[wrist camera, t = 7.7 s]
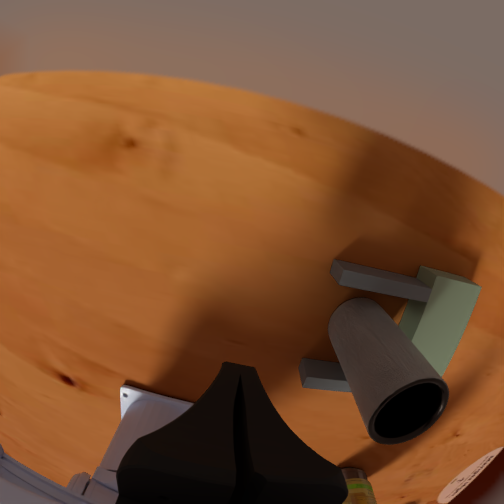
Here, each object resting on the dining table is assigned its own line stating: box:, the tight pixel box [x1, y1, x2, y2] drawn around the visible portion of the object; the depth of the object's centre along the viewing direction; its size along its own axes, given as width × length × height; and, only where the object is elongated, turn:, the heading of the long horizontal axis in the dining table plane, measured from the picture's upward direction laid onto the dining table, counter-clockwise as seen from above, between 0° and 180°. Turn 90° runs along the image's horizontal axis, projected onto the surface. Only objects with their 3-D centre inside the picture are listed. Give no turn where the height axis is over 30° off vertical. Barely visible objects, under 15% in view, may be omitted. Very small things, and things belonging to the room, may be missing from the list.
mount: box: [299, 259, 481, 392], centre depth 21 cm, size 11×12×2 cm
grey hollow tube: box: [328, 297, 449, 445], centre depth 17 cm, size 4×4×10 cm
